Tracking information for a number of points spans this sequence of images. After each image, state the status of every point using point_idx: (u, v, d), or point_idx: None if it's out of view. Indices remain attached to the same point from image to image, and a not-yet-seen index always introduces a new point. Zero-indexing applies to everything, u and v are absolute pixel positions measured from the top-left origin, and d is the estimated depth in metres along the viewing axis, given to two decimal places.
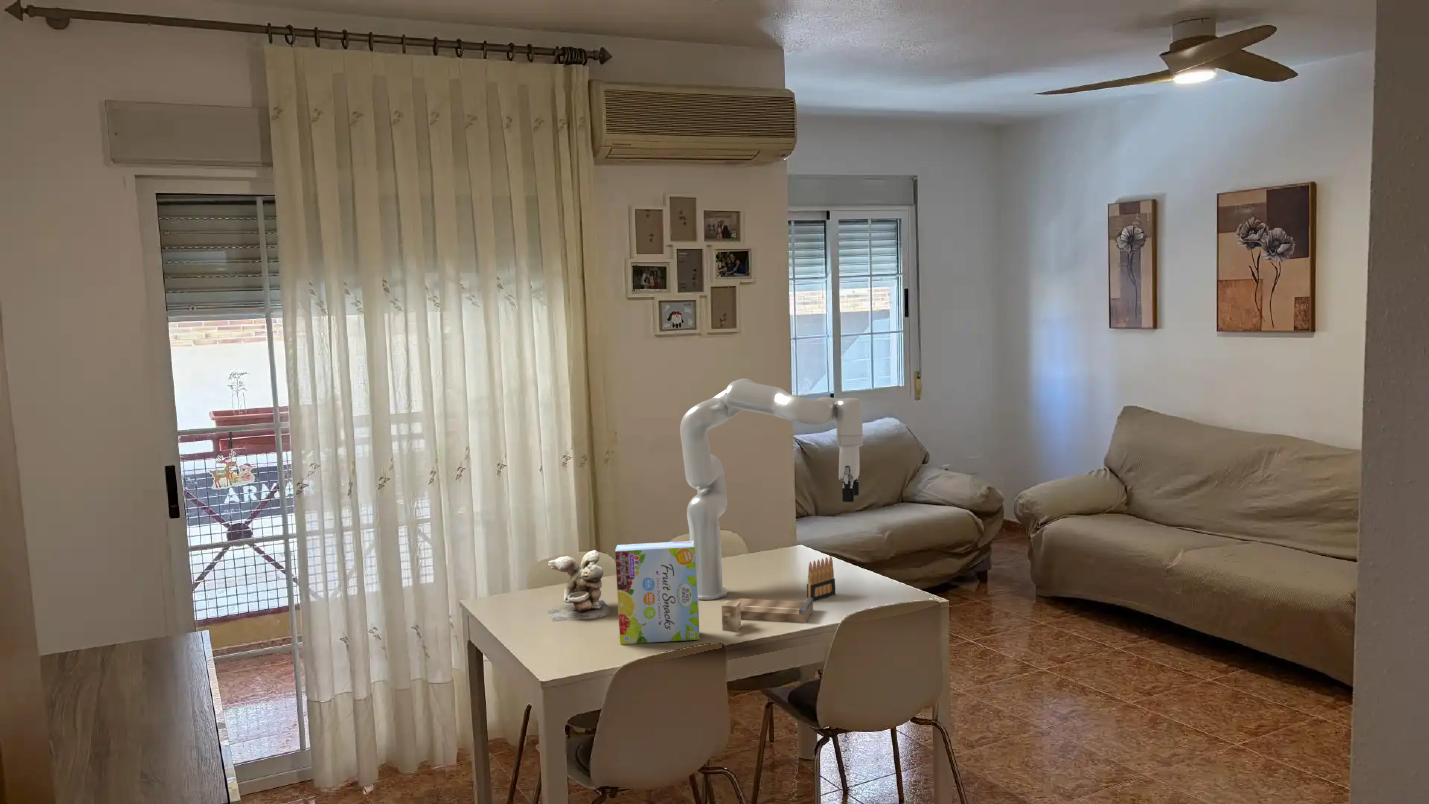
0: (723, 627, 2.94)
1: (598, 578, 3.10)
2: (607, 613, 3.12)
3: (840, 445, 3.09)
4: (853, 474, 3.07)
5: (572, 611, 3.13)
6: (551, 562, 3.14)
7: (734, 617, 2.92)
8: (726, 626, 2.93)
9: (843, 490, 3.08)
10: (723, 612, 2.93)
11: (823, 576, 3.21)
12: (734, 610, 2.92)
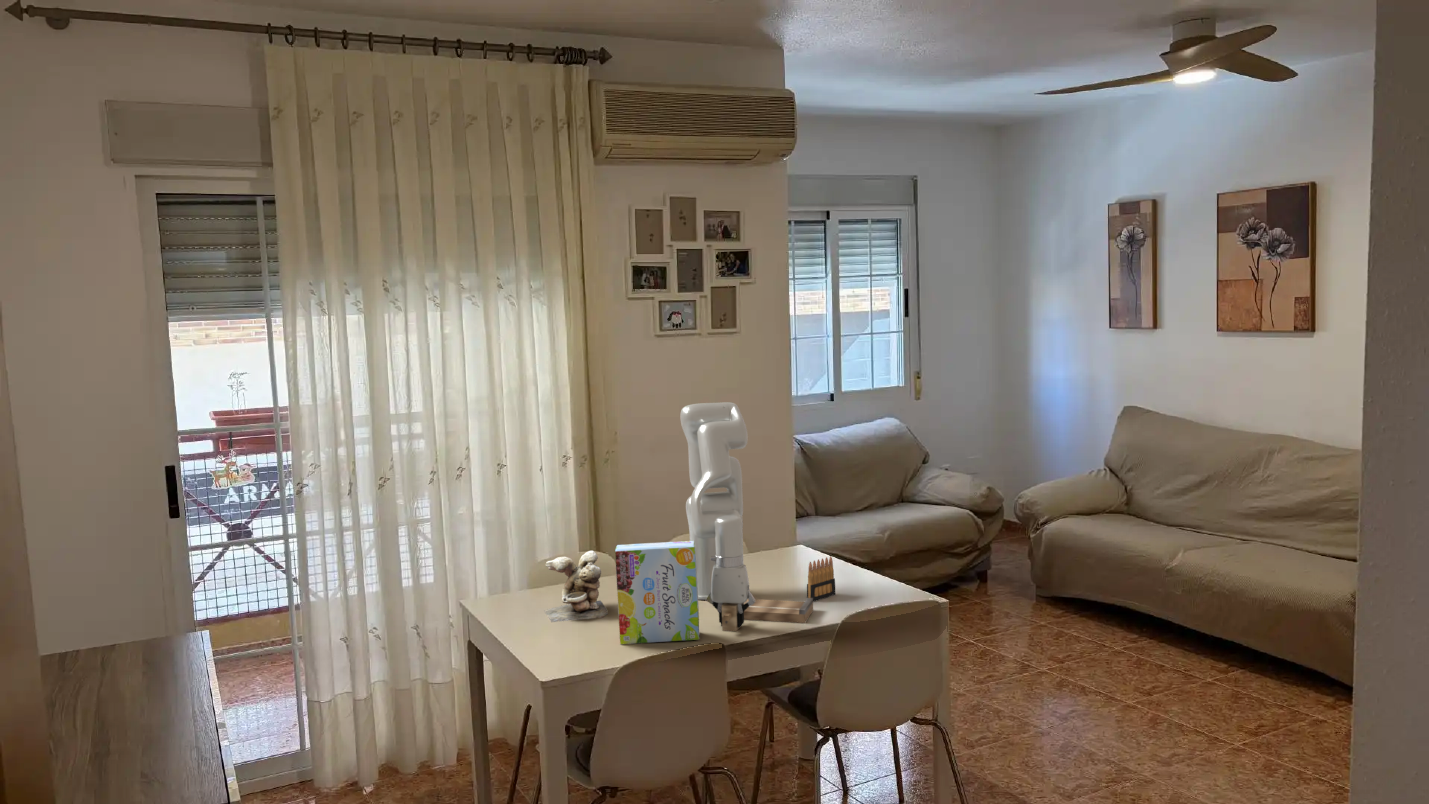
0: (723, 627, 2.93)
1: (596, 578, 3.10)
2: (605, 613, 3.12)
3: (738, 567, 2.91)
4: None
5: (570, 611, 3.12)
6: (549, 562, 3.14)
7: (734, 617, 2.92)
8: (726, 626, 2.93)
9: (739, 615, 2.93)
10: (723, 612, 2.93)
11: (823, 576, 3.21)
12: (734, 610, 2.92)
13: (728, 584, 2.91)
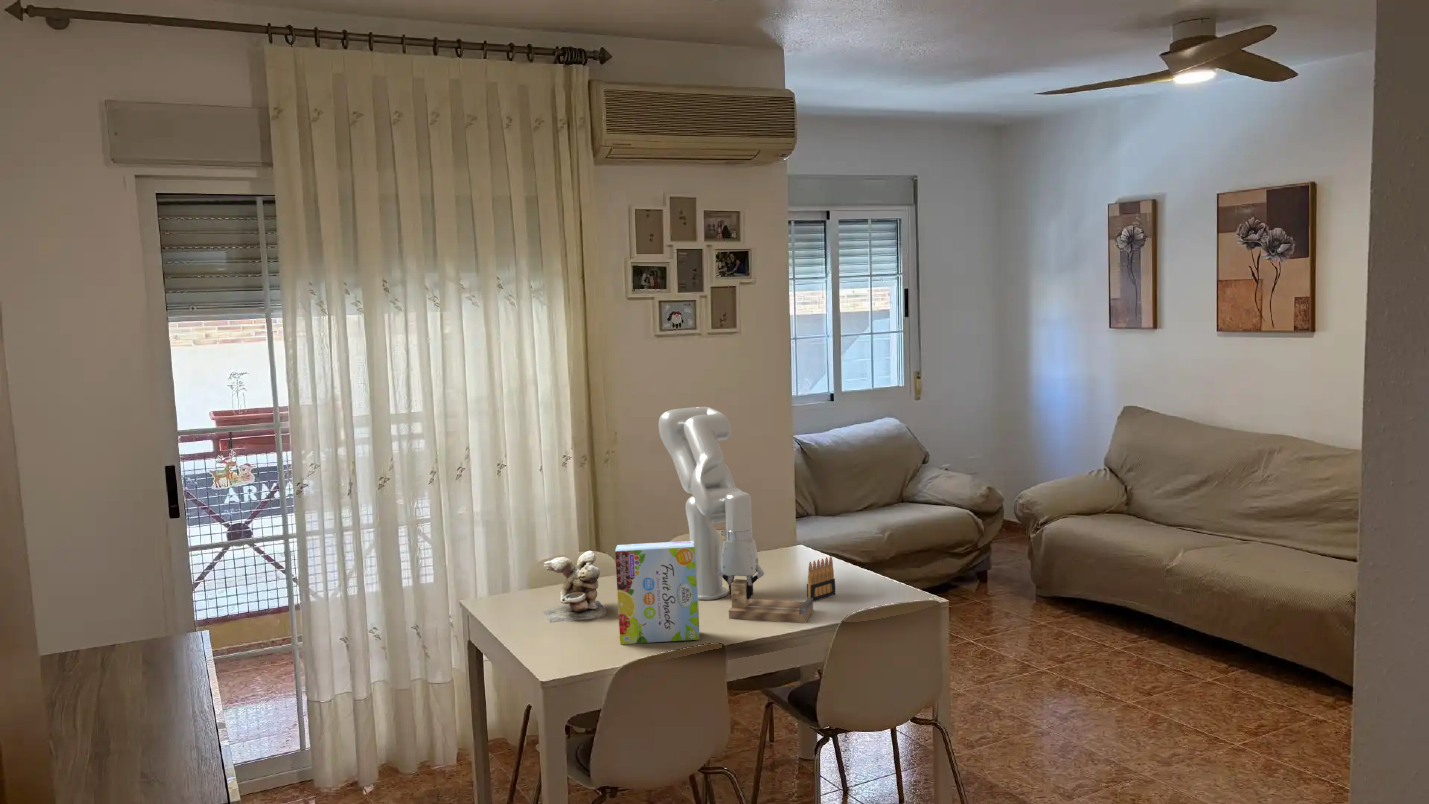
0: (732, 605, 3.06)
1: (595, 578, 3.10)
2: (604, 613, 3.11)
3: (747, 540, 3.04)
4: None
5: (568, 612, 3.12)
6: (547, 562, 3.14)
7: (743, 595, 3.05)
8: (735, 604, 3.06)
9: (748, 587, 3.06)
10: (732, 590, 3.05)
11: (823, 576, 3.21)
12: (743, 588, 3.04)
13: (738, 557, 3.05)
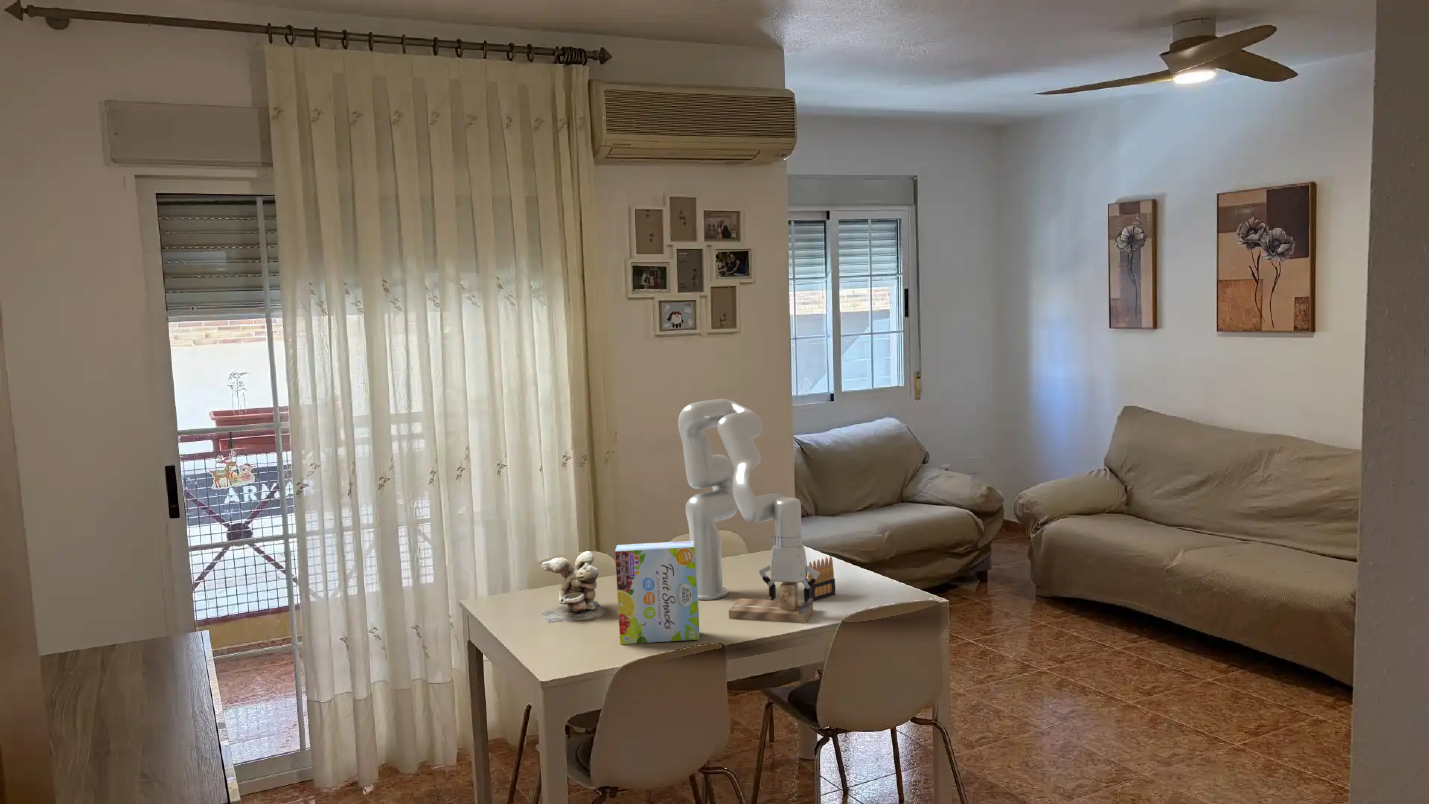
0: (781, 606, 3.02)
1: (593, 579, 3.09)
2: (602, 614, 3.11)
3: (797, 547, 3.00)
4: None
5: (567, 612, 3.12)
6: (545, 563, 3.13)
7: (792, 596, 3.01)
8: (784, 605, 3.02)
9: (806, 590, 3.02)
10: (781, 592, 3.02)
11: (823, 576, 3.21)
12: (792, 590, 3.01)
13: (787, 564, 3.01)
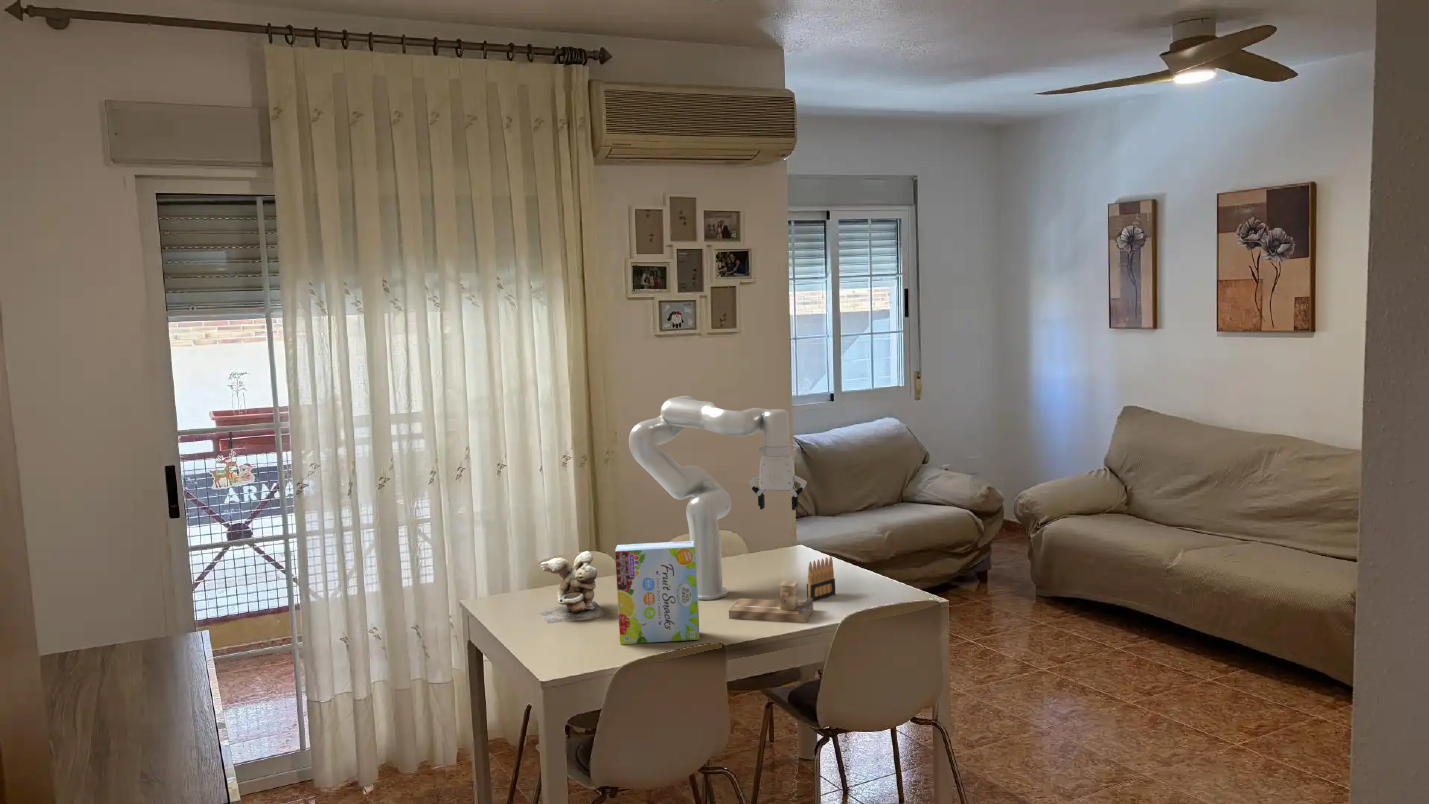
0: (781, 606, 3.02)
1: (592, 579, 3.09)
2: (601, 614, 3.11)
3: (785, 456, 3.11)
4: None
5: (566, 613, 3.11)
6: (544, 563, 3.13)
7: (792, 596, 3.01)
8: (784, 605, 3.02)
9: (794, 499, 3.12)
10: (781, 592, 3.02)
11: (823, 576, 3.21)
12: (792, 590, 3.01)
13: (775, 472, 3.11)
